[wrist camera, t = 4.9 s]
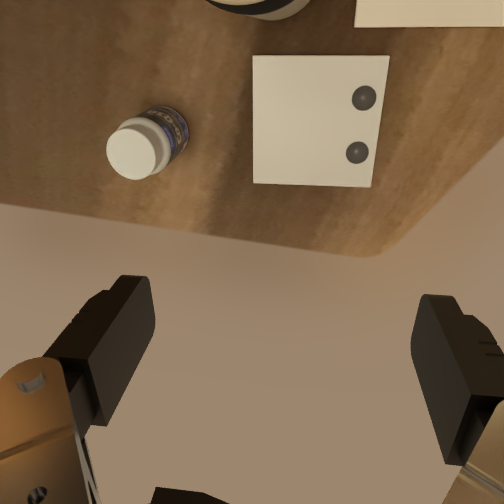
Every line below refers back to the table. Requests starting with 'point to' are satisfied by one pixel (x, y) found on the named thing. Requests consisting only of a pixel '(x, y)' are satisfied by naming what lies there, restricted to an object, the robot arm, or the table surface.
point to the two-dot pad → (317, 118)
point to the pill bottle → (147, 142)
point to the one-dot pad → (429, 13)
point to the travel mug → (262, 7)
